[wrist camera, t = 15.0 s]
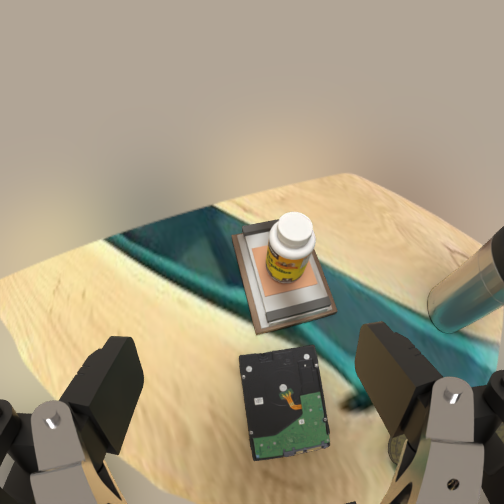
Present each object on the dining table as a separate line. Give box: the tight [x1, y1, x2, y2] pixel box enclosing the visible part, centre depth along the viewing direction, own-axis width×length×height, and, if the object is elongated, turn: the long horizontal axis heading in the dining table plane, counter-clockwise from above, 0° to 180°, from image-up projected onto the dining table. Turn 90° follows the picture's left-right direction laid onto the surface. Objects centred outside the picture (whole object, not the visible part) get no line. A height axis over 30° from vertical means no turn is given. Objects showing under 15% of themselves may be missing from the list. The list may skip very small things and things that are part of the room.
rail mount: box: [232, 219, 337, 335], centre depth 40 cm, size 12×16×4 cm
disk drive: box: [239, 345, 330, 461], centre depth 32 cm, size 10×3×15 cm
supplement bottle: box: [266, 212, 316, 283], centre depth 35 cm, size 6×6×10 cm
